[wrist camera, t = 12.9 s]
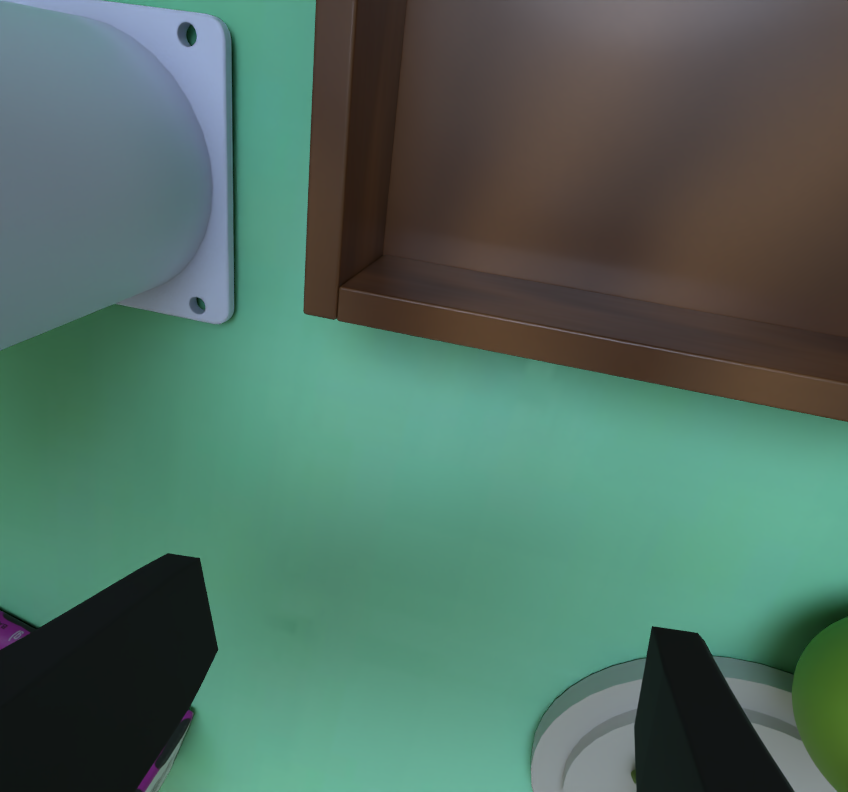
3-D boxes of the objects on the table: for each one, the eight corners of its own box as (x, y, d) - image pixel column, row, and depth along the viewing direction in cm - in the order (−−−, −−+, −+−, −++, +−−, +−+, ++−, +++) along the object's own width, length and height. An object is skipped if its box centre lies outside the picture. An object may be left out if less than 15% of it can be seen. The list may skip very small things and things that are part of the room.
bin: (359, 272, 17) (301, 314, 14) (404, -296, 12) (332, -467, 9) (921, 377, 15) (1028, 459, 12) (1254, -257, 10) (1627, -461, 7)
